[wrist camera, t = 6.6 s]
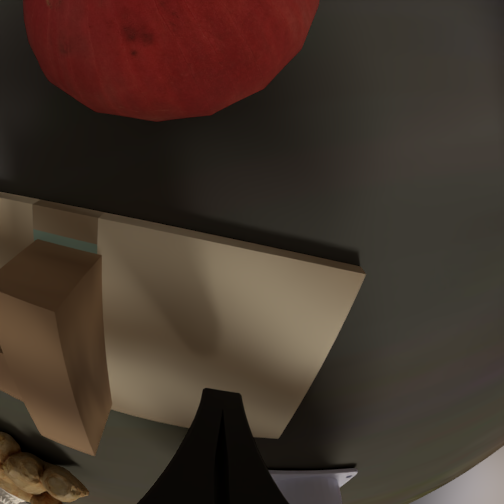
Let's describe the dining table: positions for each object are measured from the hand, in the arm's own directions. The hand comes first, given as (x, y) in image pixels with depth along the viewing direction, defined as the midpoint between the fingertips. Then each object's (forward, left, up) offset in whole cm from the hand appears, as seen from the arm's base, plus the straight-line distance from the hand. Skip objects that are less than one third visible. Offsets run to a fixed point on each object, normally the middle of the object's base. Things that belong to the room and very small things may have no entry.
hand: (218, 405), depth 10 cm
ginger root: (-25, +18, -3) cm, 31 cm away
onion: (+12, +3, -3) cm, 13 cm away
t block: (0, +9, -2) cm, 10 cm away
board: (0, +5, -3) cm, 6 cm away
